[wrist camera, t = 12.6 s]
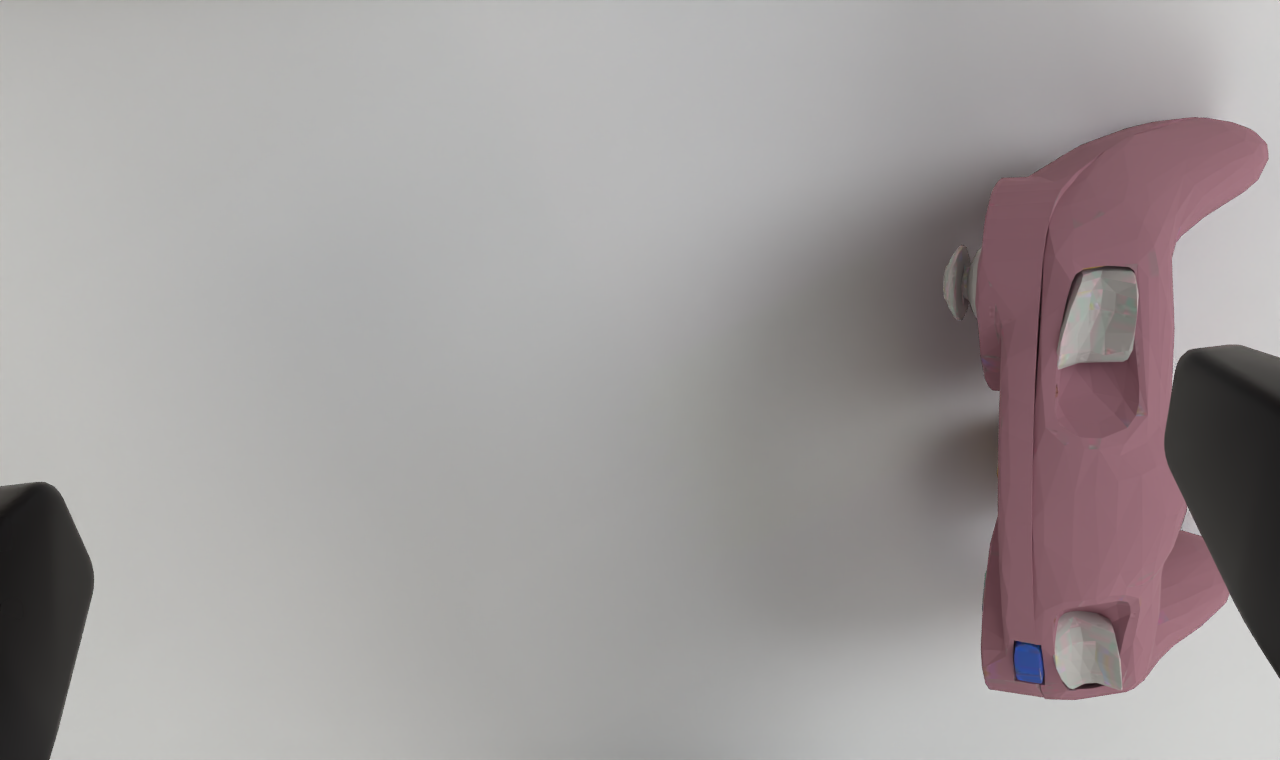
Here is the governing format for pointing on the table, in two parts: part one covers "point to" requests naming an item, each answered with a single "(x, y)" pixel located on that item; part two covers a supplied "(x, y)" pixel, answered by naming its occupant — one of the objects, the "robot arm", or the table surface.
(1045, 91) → the table surface
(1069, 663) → the video game controller
